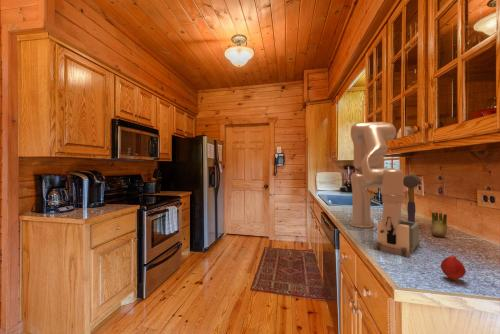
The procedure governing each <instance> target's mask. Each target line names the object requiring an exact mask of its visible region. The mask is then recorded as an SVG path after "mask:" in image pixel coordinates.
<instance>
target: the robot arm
mask: <svg viewBox="0 0 500 334" xmlns="http://www.w3.org/2000/svg"><path fill="white" fill-rule="evenodd" d="M396 134H397V129H396V127H395V126H394V124H392V123H389V122H385V121H374V122H373V121H372V122H371V121H369V122H367V121H365V122H357V123H354V124H353V125H352V126H351V127H350V138H351V141H352V144H353V167H354V168H355V169H356V170H361V171H355V172H353V173H352V174H351V175H350V184H351V191H352V220H351V221H350V222H349V225H351V226H352V227H354V228H355V227H356V228H361V229H362V228H364V229H371V228H374V226H375V224H374V223H373V222H371V220H372V217H371V194H370V193H369V191H368V190H367V189H378V188H379V189H380V188H381V189H382V190H381V191H382V192H381V193H382V195H381V201H382V203H383V206H382V220H381V221H382V225H383V226H386V225H387V228H386V230H387V243H389V244H394V245H395V244H396V235H395V228H396V227H397V225H399V224H401V221H402V208H401V207H402V206H401V205H402V204H404V184H403V179H404V172H403V170H402V169H396V168H392V167H391V168H389V167H387V168H385V158H384V155H385V154H386V153H388V151H389V150H388V145H387V142H386V141H392V140H394V139H395V138H396V136H397V135H396ZM386 223H387V224H386ZM391 225H392V226H393V227H391ZM391 228H392V229H393V230H392V229H391Z"/></svg>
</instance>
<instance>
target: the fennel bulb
mask: <svg viewBox="0 0 500 334" xmlns="http://www.w3.org/2000/svg"><path fill="white" fill-rule="evenodd" d="M447 217H448V214H447V213H441V212H435V211H434V212H431V224H430V234H431V235H432V236H434V237H438V238H446V235H447V232H448V220H447V219H448V218H447Z"/></svg>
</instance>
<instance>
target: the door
mask: <svg viewBox="0 0 500 334" xmlns="http://www.w3.org/2000/svg"><path fill="white" fill-rule="evenodd" d="M386 224H387V223H386ZM376 227H377V229H376V232H377V233H376V234H377V235H376V237H377V238H376V241H377V242H379V243H381V245H382V246H386V247H391V248H396V249H400V250H401V248H407V251H409V225H402V224H399V225H397V227H396V228H395V235H396V244H395V245H394V244H389V243H387V230H386V228H387V225H386V226H383V225H382V220H379V221H377V222H376ZM391 227H393V226H392V225H391ZM391 229H392V228H391ZM392 230H393V229H392ZM377 242H376V243H377Z"/></svg>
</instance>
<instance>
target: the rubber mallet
mask: <svg viewBox="0 0 500 334" xmlns="http://www.w3.org/2000/svg"><path fill="white" fill-rule="evenodd" d="M420 181H421V179H420V177H419V176H418V175H416V174H407V175H405V176H403V187H406V188H408V201H407V208H406V209H407V221H408V222H415V223H416V203H415V188H417V187H418V186H419V184H420Z"/></svg>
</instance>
